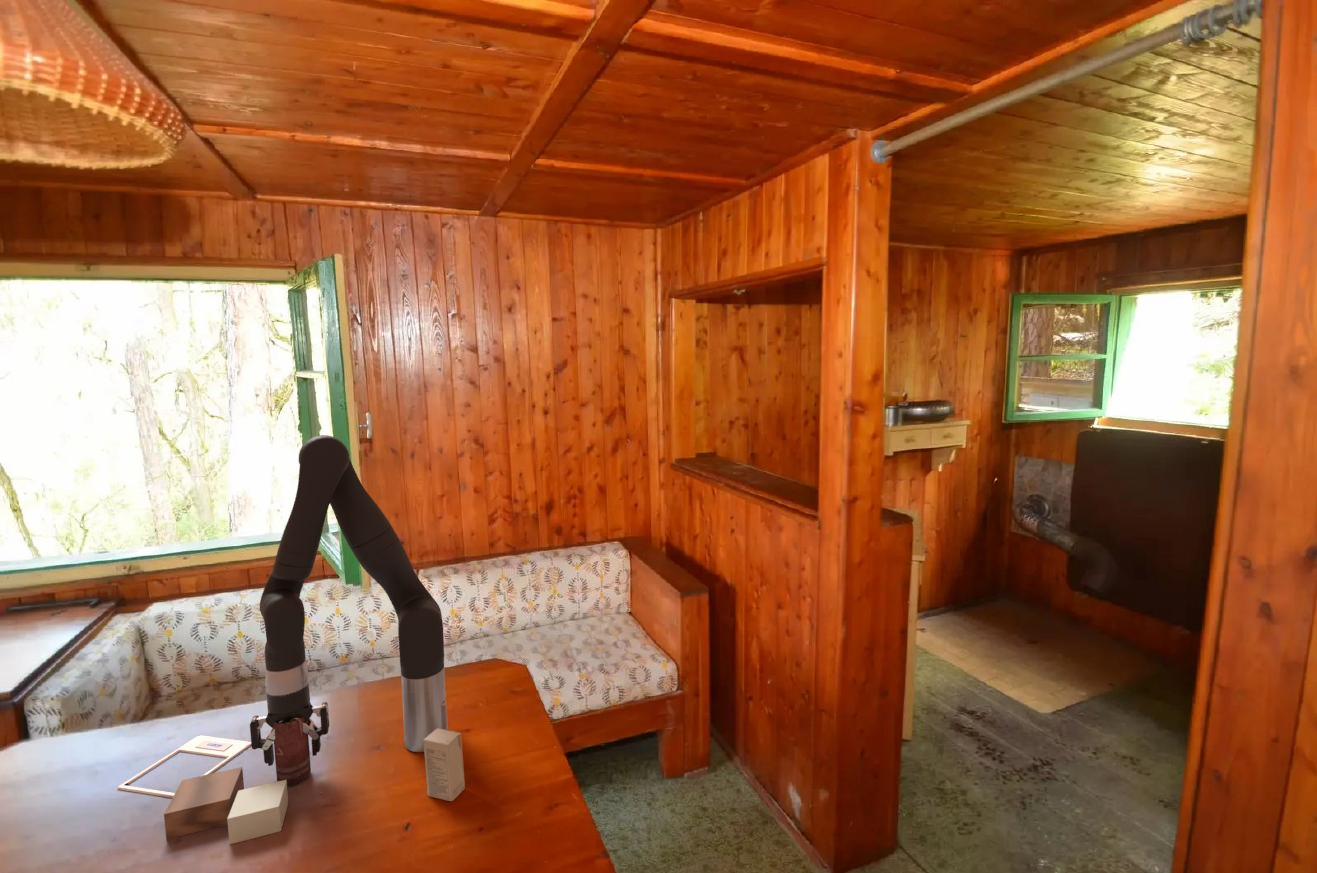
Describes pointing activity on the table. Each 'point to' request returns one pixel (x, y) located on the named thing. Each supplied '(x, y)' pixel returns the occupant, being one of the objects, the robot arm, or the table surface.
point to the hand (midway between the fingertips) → (293, 758)
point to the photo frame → (196, 746)
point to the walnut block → (202, 802)
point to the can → (291, 752)
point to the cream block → (258, 811)
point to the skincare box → (444, 764)
